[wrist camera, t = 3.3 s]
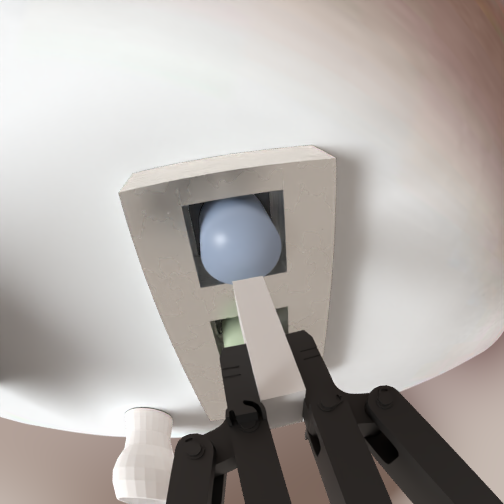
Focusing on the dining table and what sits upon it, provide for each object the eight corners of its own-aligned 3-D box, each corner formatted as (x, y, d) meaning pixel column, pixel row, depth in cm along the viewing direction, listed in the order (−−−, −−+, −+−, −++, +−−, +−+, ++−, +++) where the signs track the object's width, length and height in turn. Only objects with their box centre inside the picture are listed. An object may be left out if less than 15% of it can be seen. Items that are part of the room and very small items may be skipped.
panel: (207, 393, 36) (210, 421, 32) (132, 173, 20) (118, 192, 16) (306, 373, 37) (316, 399, 34) (311, 145, 21) (336, 157, 18)
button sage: (226, 346, 28) (232, 387, 24) (216, 309, 25) (222, 352, 21) (277, 336, 28) (290, 375, 24) (275, 298, 26) (290, 339, 21)
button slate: (205, 253, 24) (208, 290, 20) (193, 194, 21) (193, 222, 17) (267, 242, 24) (282, 276, 20) (262, 183, 22) (279, 208, 17)
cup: (189, 409, 38) (198, 501, 25) (173, 434, 42) (179, 509, 29) (119, 396, 34) (114, 492, 21) (114, 423, 38) (111, 501, 26)
